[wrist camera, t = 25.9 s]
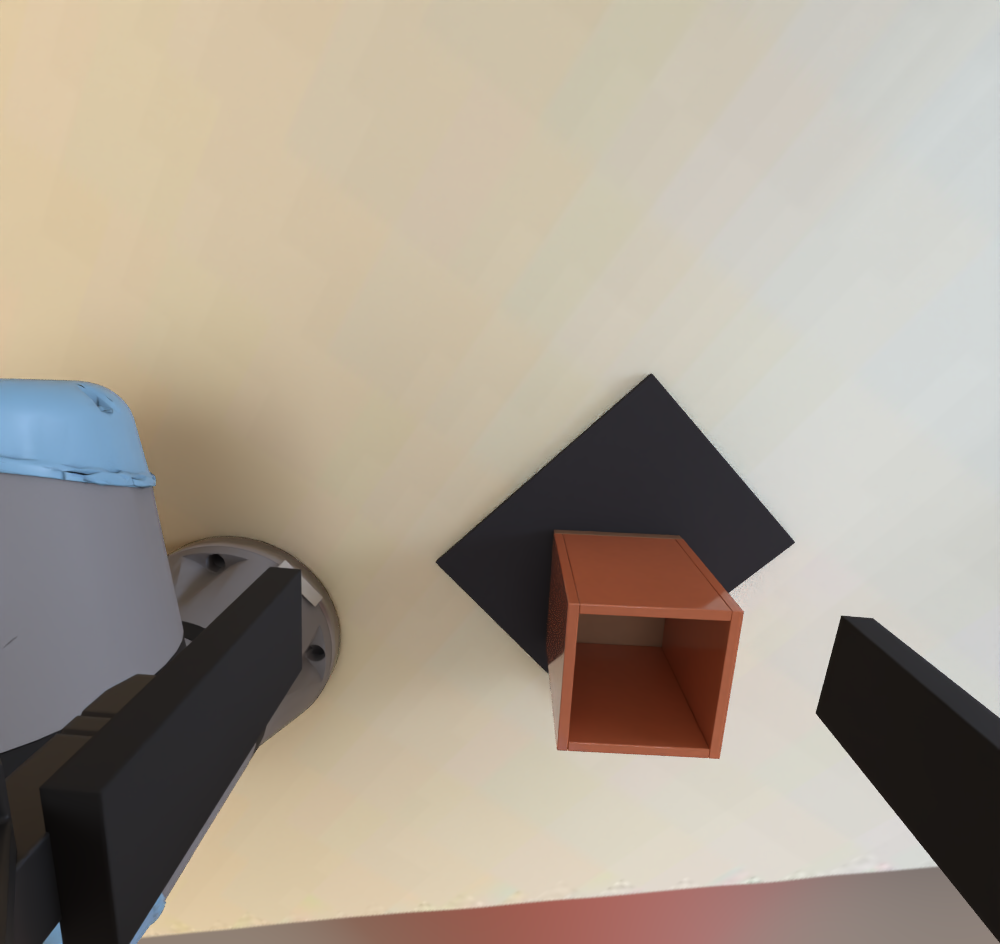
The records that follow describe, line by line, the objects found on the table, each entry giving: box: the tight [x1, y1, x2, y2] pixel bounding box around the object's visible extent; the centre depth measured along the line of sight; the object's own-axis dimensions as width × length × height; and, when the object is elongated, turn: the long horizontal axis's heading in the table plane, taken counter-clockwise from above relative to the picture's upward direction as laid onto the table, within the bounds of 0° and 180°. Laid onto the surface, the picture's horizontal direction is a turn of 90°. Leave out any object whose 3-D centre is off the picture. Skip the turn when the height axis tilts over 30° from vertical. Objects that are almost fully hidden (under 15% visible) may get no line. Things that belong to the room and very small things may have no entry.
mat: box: [436, 374, 795, 674], centre depth 39 cm, size 20×16×1 cm
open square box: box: [546, 530, 744, 759], centre depth 34 cm, size 11×9×9 cm
